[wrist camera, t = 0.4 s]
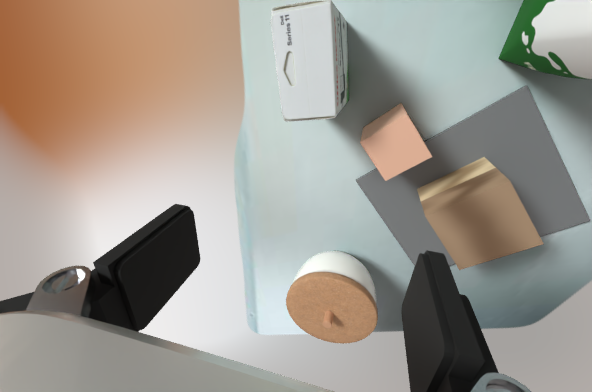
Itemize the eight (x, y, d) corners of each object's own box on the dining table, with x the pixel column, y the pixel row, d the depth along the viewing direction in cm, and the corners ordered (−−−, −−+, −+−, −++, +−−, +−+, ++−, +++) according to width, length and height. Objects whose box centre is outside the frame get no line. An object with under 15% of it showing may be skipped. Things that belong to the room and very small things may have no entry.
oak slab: (484, 156, 31) (495, 167, 28) (513, 209, 33) (526, 225, 30) (416, 188, 35) (420, 201, 32) (446, 234, 36) (452, 250, 33)
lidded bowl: (361, 306, 47) (357, 368, 37) (294, 279, 48) (273, 333, 39) (390, 254, 40) (394, 314, 31) (312, 225, 42) (293, 274, 32)
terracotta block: (401, 102, 31) (406, 113, 25) (422, 138, 32) (432, 156, 26) (363, 127, 33) (360, 142, 27) (384, 159, 34) (385, 181, 28)
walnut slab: (495, 167, 28) (510, 180, 25) (526, 225, 30) (543, 244, 27) (420, 201, 32) (425, 216, 29) (452, 250, 33) (459, 269, 30)
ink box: (350, 101, 32) (337, 122, 22) (310, 105, 34) (281, 125, 24) (348, 16, 29) (331, -6, 18) (303, 24, 30) (265, 7, 20)
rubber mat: (525, 85, 27) (527, 85, 27) (587, 218, 31) (590, 220, 31) (356, 179, 37) (355, 180, 36) (420, 272, 41) (420, 274, 40)
